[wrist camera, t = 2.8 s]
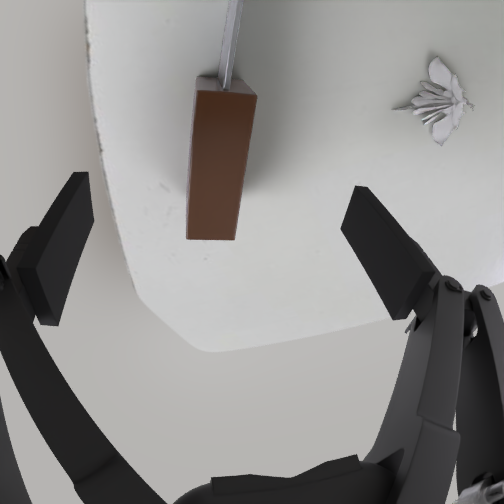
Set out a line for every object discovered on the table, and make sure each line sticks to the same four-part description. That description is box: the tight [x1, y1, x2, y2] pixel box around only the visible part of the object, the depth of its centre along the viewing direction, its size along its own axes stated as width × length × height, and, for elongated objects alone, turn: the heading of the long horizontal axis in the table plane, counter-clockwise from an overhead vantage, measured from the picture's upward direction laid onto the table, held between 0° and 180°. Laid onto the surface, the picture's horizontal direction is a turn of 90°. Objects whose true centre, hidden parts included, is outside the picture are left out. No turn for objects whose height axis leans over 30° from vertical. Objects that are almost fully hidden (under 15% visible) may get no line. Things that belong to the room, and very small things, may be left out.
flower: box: [392, 56, 475, 146], centre depth 20 cm, size 8×8×3 cm
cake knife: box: [186, 0, 257, 240], centre depth 14 cm, size 26×3×5 cm, turn 171°
